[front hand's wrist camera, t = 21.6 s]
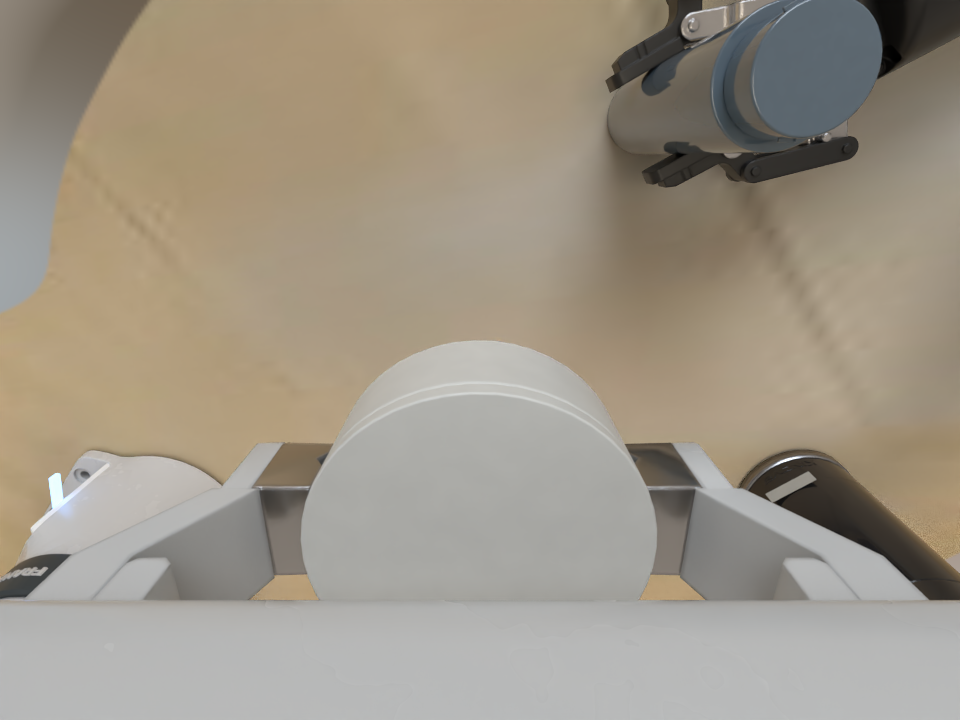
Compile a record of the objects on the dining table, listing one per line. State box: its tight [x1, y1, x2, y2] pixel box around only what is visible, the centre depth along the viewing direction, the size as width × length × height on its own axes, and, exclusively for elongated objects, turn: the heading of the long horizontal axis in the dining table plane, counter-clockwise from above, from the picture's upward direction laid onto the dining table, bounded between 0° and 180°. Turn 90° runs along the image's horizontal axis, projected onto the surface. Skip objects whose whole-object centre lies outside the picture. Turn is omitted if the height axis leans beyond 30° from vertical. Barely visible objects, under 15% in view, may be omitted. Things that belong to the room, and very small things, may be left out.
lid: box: [301, 340, 657, 600], centre depth 9 cm, size 6×6×2 cm
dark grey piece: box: [607, 0, 882, 154], centre depth 25 cm, size 5×5×20 cm
